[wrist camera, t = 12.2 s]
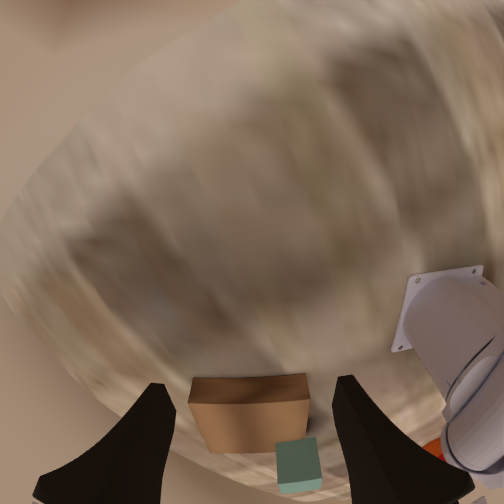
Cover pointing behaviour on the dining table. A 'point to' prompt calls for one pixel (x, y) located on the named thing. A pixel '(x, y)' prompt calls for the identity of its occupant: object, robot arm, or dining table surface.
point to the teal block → (298, 466)
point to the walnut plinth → (250, 412)
